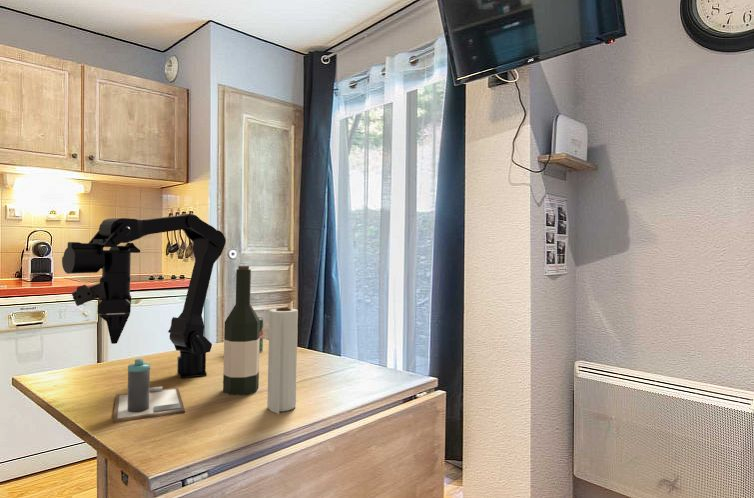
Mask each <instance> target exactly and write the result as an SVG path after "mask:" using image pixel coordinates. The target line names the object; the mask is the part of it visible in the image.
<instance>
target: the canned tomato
mask: <svg viewBox="0 0 754 498" xmlns="http://www.w3.org/2000/svg"><path fill="white" fill-rule="evenodd" d="M258 318H259V320H260V344H259V354H261V353H263V349H264V344H263V343H264V317H262V316H261V317H260V316H258Z"/></svg>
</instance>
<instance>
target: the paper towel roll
mask: <svg viewBox="0 0 754 498" xmlns="http://www.w3.org/2000/svg"><path fill="white" fill-rule="evenodd" d="M268 313H269V314H268V315H269V316H268V317H269V319H268V361H267V362H268V363H267V364H268V365H267V402H266V403H267V404H266V405H267V406H266V407H267V409H268V410H270V412H272V413H276V414H277V415H278V416H279V415H280V412H288V411H291V410H294V409H295V408H296V406H297V366H298V365H297V364H298V363H297V361H298V318H299V314H298V313H299V310H298V309H296V308H290V307H289V308H288V307H281V308H272V309H269V312H268Z"/></svg>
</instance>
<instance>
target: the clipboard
mask: <svg viewBox="0 0 754 498" xmlns="http://www.w3.org/2000/svg"><path fill="white" fill-rule="evenodd" d="M180 392H181V391H180V389H179V387H175V388H173V387H172V388H163V385H161V386H153V387H150V386H149V409H147V410H145V411H140V412H129V411H128V392H126V393H120V394H119V393H118V394H116V395H115V402H114V410H113V418H112V420H113V421H112V423H118V422H126V421H132V420H139V419H148V418H155V417H161V416H170V415H174V414H175V415H178V414H184V413H186V410H185V406H184V402H183V399H182V395H181V393H180Z"/></svg>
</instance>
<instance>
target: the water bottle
mask: <svg viewBox="0 0 754 498" xmlns="http://www.w3.org/2000/svg"><path fill="white" fill-rule="evenodd" d="M150 372H151V363H150V362H144V358H136V359H135V360H134V363H131V364H128V365H127V393H128V411H129V412H140V411H145V410H147V409H149V388H150V382H151V381H150V377H151V376H150Z"/></svg>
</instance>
